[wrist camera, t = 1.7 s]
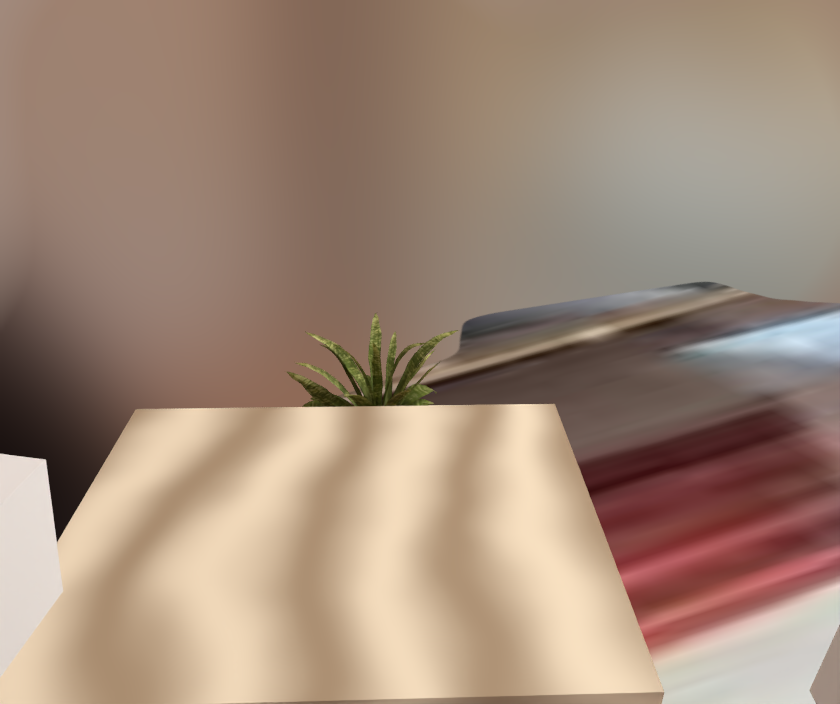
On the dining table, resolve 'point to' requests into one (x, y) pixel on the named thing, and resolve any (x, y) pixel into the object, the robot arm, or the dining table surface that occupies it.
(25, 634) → the robot arm
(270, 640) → the cubby box
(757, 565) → the dining table surface
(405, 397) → the house plant
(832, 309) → the dining table surface
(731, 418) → the dining table surface
